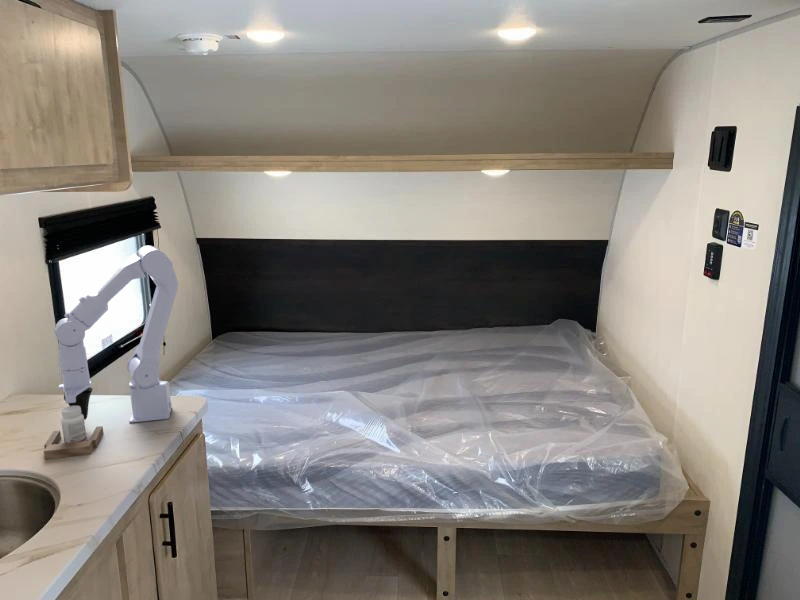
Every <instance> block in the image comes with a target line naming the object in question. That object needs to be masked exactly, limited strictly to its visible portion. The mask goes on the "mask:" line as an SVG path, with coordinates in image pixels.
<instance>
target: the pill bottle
mask: <svg viewBox="0 0 800 600" xmlns="http://www.w3.org/2000/svg"><path fill="white" fill-rule="evenodd" d="M61 416H62V418H61V419H60V421H61V422H60V423H61V428H62V436H63V442H64V443H72V442H81V441H88V440H87V439H88V435H87V431H86V430H87V429H86V424H85V420H84V416H83V414H81V407H80V406H70V405H68V406H66V407H64V408H62V409H61Z"/></svg>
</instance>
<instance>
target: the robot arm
mask: <svg viewBox="0 0 800 600" xmlns="http://www.w3.org/2000/svg"><path fill="white" fill-rule="evenodd" d="M145 273H146V274H147V275H148V276H149V277H150V278H151V280H152V281H153V284H155V286H156V287H155V290H154V293H153V297H152V299H151V304H150V307H149V310H148V314H147V316H146V320H145V324H144V327H143V332H142V335H141V337H140V342H139V344H138V345H137V347H136V348H135V351H134V354H133V355H132V356H131V357H130V358H129V360H128V361H127V363H126V364H127V365H126V368H127V372H128V373H129V374H130V376H131V379H130V381H129V384H128V386H129V395H130V400H131V403H130V404H131V409H132V410H131V411H132V413H131V415H130V418H129V420H128V422H129V423H137V422H138V423H139V422H149V421H150V422H151V421H157V420H168V419H169V418H170V415H171V411H172V408H173V405H172V399H171V390H170V382H169V381H167V380H161V379H160V370H159V365H160V361H161V360H160V359H161V358H160V356H161V355H160V351H161V346H162V343H163V340H164V337H165V333H166V329H167V326H168V322H169V319H170V315H171V312H172V309H173V305H174V302H175V299H176V295H177V292H178V289H179V288H178V287H179V282H178V278H177V275H176V272H175V268H174V264H173V261H171V259H170V258H169V257H168V255H167V254H166V253H165V252H164V251H162V250H159V248H157V247H156V246H153V245H144V246H141V247H140V248H139V249H138V250H137V252H136V253H134V254H132V255H130V256H129V257H128V258H127V260H126V261H125V262H124V263H123V264H122V265H121V266H120V267H119V268H118V269H117V270H116V271H115V273H114V274H113V275H112V276H111V277H110V278H109V279H108V281H106V282H105V284H104V285H103V286H102V287H101V288H100V289H99V290H98V291H97V293H96V292H95V293H89V294H87V295H86V296H83V295H82V296H81V297H80V298H79V299H78V301H79V303H77V305H76V306H74V308H73V309H72V310H71V311H70V312H65V314H64V317H65V318H62V319H61V318H60V320H58V321H57V323H56V325H55V328H54V330H53V331H54V334H55V335H56V339H57V340H58V341H57V342H58V343H57V347H58V356H59V357H58V358H59V363H60V370H61V375H62V376H61V377H62V383H60V384H59V385H58V388H57V389H58V390H60V391H61V390H63V392H64V395H63V400H64V401H65V404H68V406H80V407H81V414H83V416H84V421H86V420H87V418H88V414H89V403H90V398H91V395H92V392H93V387H91V386H92V381H91V380H90V379H91V377H90V371H89V365H88V358H87V351H86V347H85V344H84V340H85V336H86V331H87V330H90V329H91V328H92V327H93V326H94V325H95V323H97V322H98V321H99V320H100V319H101V317H103V315H104V314H106V312H107V311H109V310H108V309H109V305H108V303H109V302H110V301H111V300H112V299H113V298H115V296H117V294H119V292H121V291H122V290H123V289H124V288H125V287H126V286H127V285H128V284H129V283H130V282H131V281H133V280H136V279H144V278H146V277H147V276H146V275H145Z"/></svg>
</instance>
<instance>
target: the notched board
mask: <svg viewBox="0 0 800 600" xmlns="http://www.w3.org/2000/svg"><path fill="white" fill-rule="evenodd" d="M61 434H62V433H61V430H53V432H52V433H51V434H50V436H49V437H48V439H47V440H46V441H45V443H44V445H43V447H44V450H43V456H44V457H43V458H44V460H50V459H59V458H69V457H76V456H78V457H79V456H86V455H92V451H93V450H94V449H97V448H98V446H99V444H100V442H101V440H102V438H103V436H104V426H103V425H100V426H96V427H95V428H94V431H93V432H92V434H91V436H90V438H89V440H86V441H81V442H72V443H59V442H60V441H61V439H62V435H61Z"/></svg>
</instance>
